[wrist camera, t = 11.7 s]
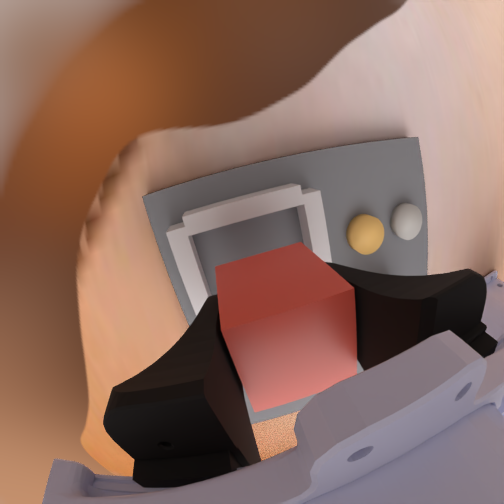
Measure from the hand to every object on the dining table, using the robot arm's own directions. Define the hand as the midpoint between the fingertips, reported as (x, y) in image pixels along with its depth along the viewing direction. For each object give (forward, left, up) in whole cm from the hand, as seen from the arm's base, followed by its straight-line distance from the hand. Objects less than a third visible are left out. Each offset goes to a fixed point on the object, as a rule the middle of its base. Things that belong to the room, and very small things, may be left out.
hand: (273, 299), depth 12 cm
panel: (-4, +5, -6) cm, 8 cm away
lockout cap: (0, 0, -1) cm, 1 cm away
